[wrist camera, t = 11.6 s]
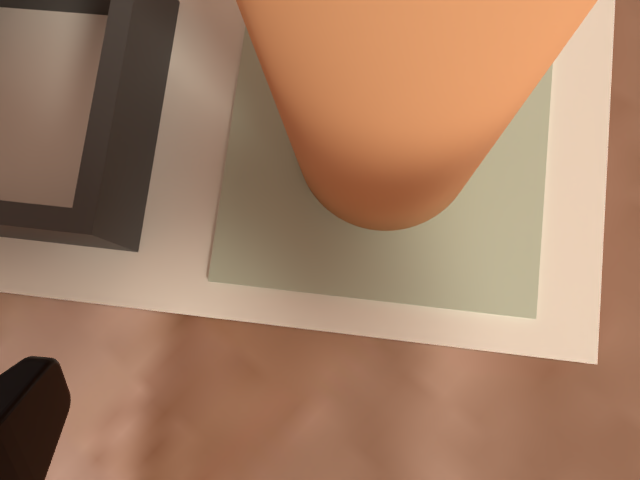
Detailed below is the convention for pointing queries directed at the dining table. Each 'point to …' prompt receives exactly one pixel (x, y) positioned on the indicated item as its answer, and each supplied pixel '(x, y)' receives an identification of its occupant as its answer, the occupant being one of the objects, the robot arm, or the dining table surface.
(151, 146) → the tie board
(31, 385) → the robot arm
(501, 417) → the dining table surface
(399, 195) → the tall peach cylinder
